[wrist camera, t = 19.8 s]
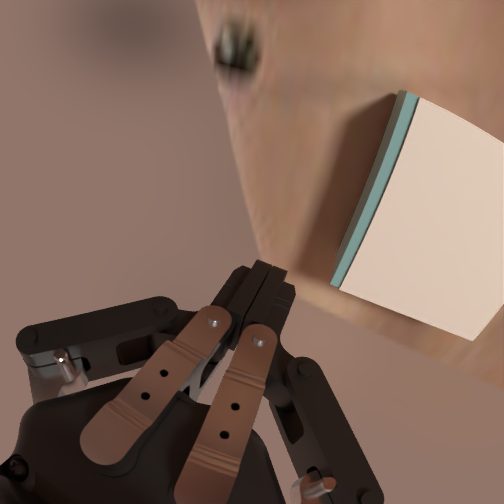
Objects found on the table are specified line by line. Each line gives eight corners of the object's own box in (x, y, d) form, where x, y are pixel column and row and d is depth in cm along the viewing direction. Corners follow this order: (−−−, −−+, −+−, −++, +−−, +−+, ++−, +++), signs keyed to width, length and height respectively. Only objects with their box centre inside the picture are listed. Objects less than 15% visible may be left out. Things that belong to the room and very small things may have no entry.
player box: (345, 252, 37) (339, 289, 31) (407, 93, 25) (420, 97, 19) (463, 301, 34) (472, 341, 28) (538, 170, 22) (569, 193, 16)
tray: (336, 253, 36) (329, 284, 31) (398, 89, 24) (407, 91, 20) (450, 299, 34) (457, 333, 29) (527, 161, 22) (553, 180, 17)
